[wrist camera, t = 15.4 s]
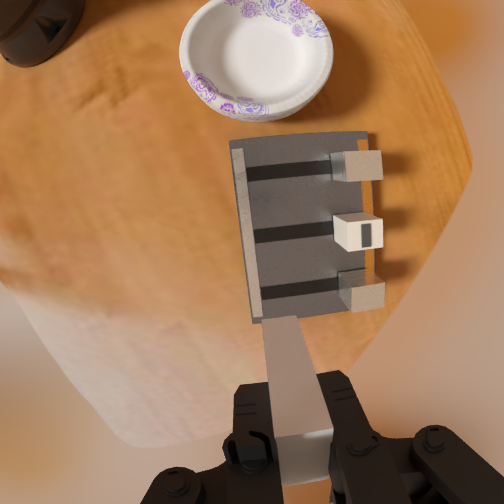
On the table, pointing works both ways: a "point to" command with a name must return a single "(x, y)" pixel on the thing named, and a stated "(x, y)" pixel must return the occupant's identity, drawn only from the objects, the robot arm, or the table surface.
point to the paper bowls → (256, 57)
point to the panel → (305, 222)
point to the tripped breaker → (358, 231)
